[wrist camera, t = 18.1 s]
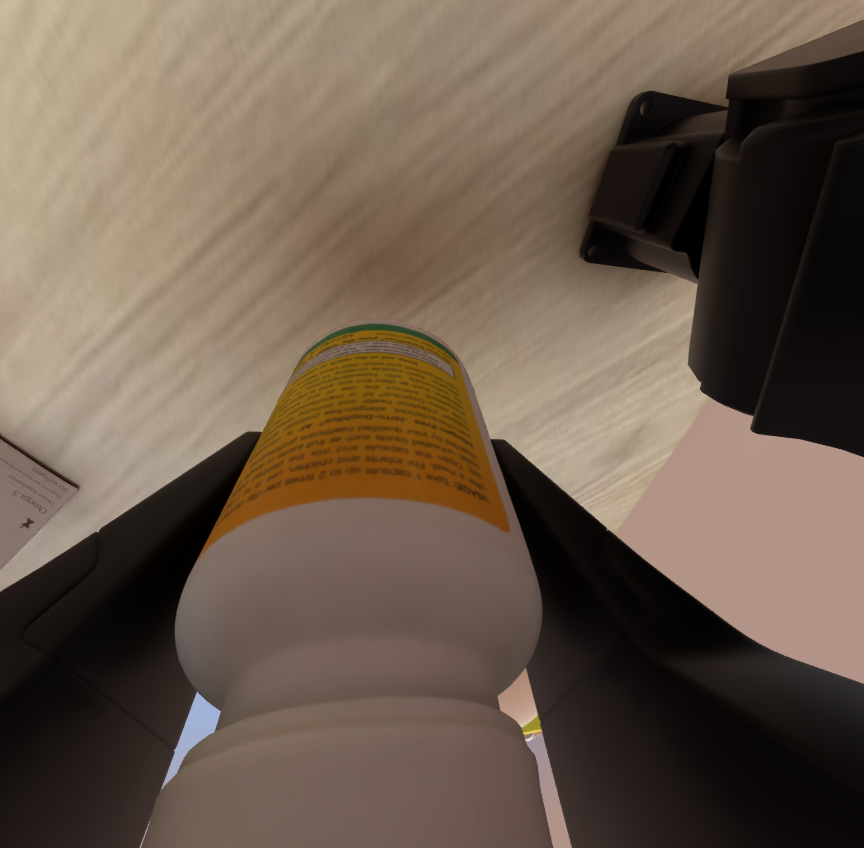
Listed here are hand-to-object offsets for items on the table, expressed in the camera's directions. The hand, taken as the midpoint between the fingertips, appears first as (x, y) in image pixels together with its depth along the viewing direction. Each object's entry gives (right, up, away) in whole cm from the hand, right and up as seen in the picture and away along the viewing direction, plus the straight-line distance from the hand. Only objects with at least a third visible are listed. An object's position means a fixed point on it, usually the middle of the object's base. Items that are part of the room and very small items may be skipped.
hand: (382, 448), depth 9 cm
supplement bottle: (0, +2, +2) cm, 3 cm away
